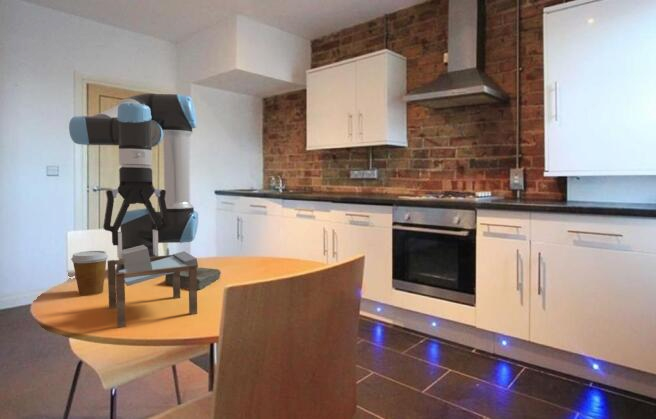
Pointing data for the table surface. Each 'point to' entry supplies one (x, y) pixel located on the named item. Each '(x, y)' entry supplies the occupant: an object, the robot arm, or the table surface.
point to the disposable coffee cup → (90, 271)
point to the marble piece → (203, 277)
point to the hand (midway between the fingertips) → (138, 256)
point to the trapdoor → (163, 266)
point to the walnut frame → (118, 283)
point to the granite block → (136, 259)
